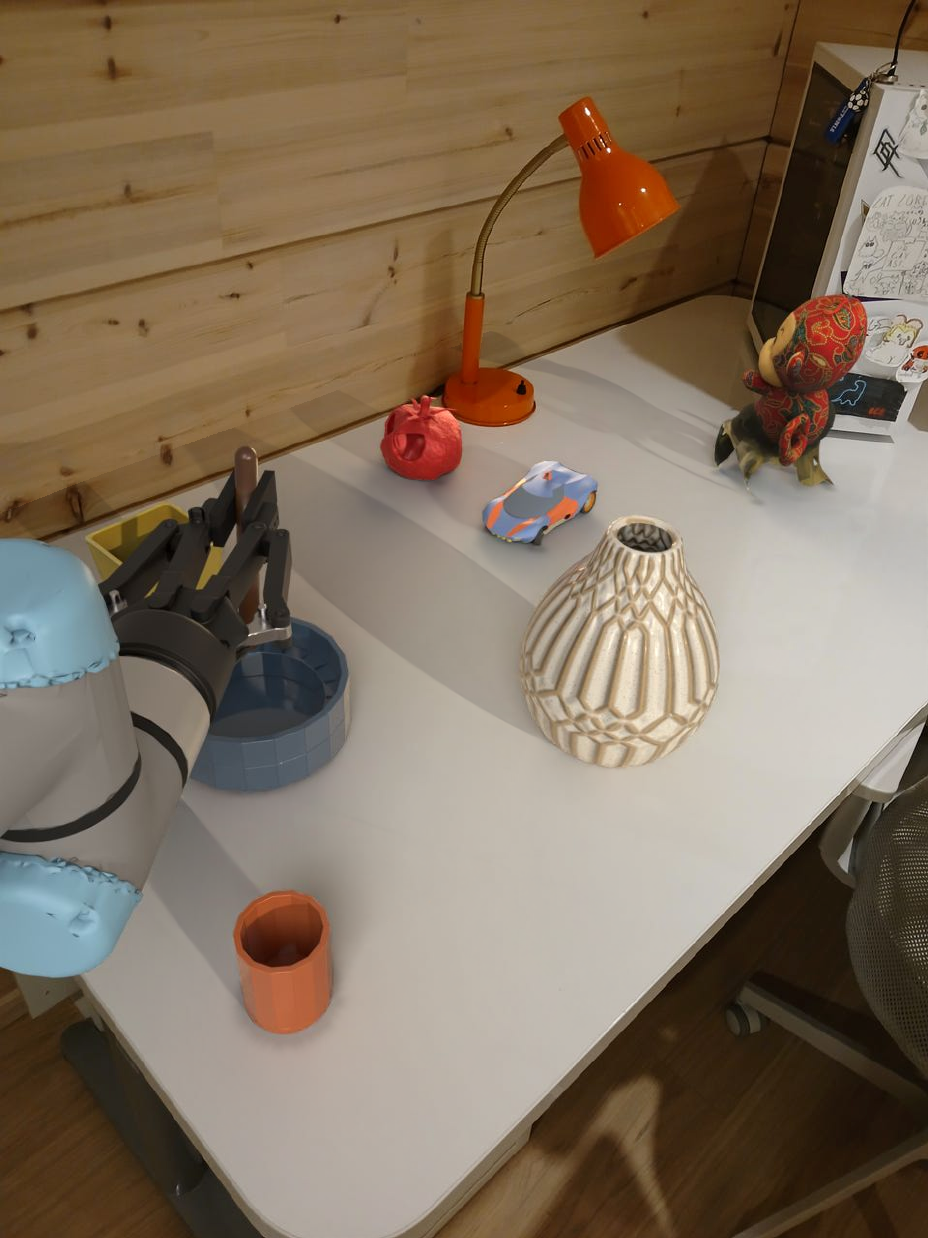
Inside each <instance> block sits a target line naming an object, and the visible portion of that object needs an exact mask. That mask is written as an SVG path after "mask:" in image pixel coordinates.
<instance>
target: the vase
mask: <svg viewBox="0 0 928 1238" xmlns="http://www.w3.org/2000/svg"><path fill="white" fill-rule="evenodd" d="M685 555H686V554H685V545H684V540H683V537H682V535H681V533H680V532H679V530H678V529H677V528H676V527H675V526H673V525H672V524H671V523H669V522H667V521H665V520H664V519H663V520H662V519H661V518H658V517H655V516H649V515H643V514H642V515H641V514H633V515H631V514H630V515H627V516H622V517H619V518H617V519H615V520H614V521H613V522H611V523H610V525H609V526H608V527H607V529H606V531H605V533H603V536H602V537H601V539H600V541H599V542H598V543H597V545H596V547H595V548H594V549H593V550H592V551H591V552H589V553H588V554H586V555H585V556H584V557H582V558H581V559H580V560H578V561H576V562H575V563H574V564H573V565H572V566H571V567H569V568H568V569H567V570H566V571H564V573H562V575H560V576H559V577H558V578H557V579H556V580H555V581H554V582H553V583H552V585H550V586H549V588H548V589H547V590H546V592H545V593H544V595H543V596H542V597H541V599H540V601H539V602H538V604H537V606H536V607H535V609H534V611H533V613H532V615H531V617H530V618H529V620H528V622H527V625H526V628H525V630H524V633H523V636H522V640H521V642H520V643H521V644H520V649H519V660H518V661H519V664H518V665H519V667H518V668H519V681H520V687H521V692H522V695H523V698H524V702H525V705H526V706H527V709H528V710H529V713H530V715H531V717H532V718H533V721H534V722H535V723H536V725H537V727H538V728H539V729H540V730H541V732H542V734H543V735H544V736H545V737H546V738H547V739H548V740H549V741H550V742H551V743H553V744H554V745H555V746H556V747H557V748H558V749H561V751H563V752H565V753H566V754H568V755H570V756H571V757H574V758H575V759H577V760H579V761H581V762H585V763H588V764H591V765H595V766H599V767H604V768H613V769H614V768H616V769H624V768H633V767H640V766H646V765H648V764H652V763H654V762H657V761H659V760H662V759H663V758H665V757H667V756H669V755H670V754H672V753H673V752H675V751H677V750H678V749H679V748H680V747H681V746H682V745H684V744H685V743H686V742H688V740H689V739H690V738H691V737H692V736H693V735H694V734H695V733H696V732H697V731H698V729H699V728H700V727H701V725H702V724H703V722H704V721H705V719H706V717H707V715H708V714H709V711H710V710H711V708H712V706H713V703H714V700H715V697H716V695H717V692H718V688H719V682H720V674H721V655H720V643H719V637H718V632H717V626H716V622H715V620H714V617H713V614H712V612H711V609H710V606H709V605H708V602H707V599H706V598H705V596H704V593H703V592H702V590H701V588H700V586H699V584H698V583H697V581H696V580H695V578H694V577H693V575H692V574H691V573H690V570H689V569H688V566H687V565H688V564H687V561H686V556H685Z"/></svg>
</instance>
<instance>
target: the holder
mask: <svg viewBox="0 0 928 1238" xmlns="http://www.w3.org/2000/svg"><path fill="white" fill-rule="evenodd" d="M232 940H233V945H234V951H235V957H236V964H237V969H238V970H237V971H238V975H239V982H240V988H241V994H242V998H243V1003H244V1007H245V1010H246V1014H247V1015H248V1017H249V1018H250V1019H251V1020H252V1022H253V1023H254V1024H255V1025H257V1026H258V1027H259V1028H261V1029H262V1030H264V1031H267V1032H270V1033H273V1034H279V1035H286V1034H287V1035H288V1034H294V1033H298V1032H301V1031H304V1030H306V1029H308V1028H309V1027H311V1026H312V1025H314V1024H315V1023H316V1022H317V1021H319V1019H321V1018H322V1016H323V1015H324V1014H325V1013H326V1011H327V1009H328V1008H329V1005H330V1003H331V1000H332V995H333V986H334V977H333V975H334V974H333V959H332V941H331V925H330V921H329V918H328V916H327V911H326V909H325V907H323V906H322V905H321V904H320V903H319V902H318V901H317V900H316V899H315V897H313V896H312V895H309V894H306V893H303V892H300V891H297V890H294V889H288V890H287V889H285V890H275V891H274V890H273V891H270V892H268V893H266V894H263V895H262V896H259V897H258V898H256V899H253V900H252V901H251V902H250V903H249V904H248V905H247V906H245V908H244V909H243V910H242V911H241V912H240V913H239V914H238V916H237V919H236V923H235V925H234V929H233V932H232Z"/></svg>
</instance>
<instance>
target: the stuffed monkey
mask: <svg viewBox="0 0 928 1238" xmlns="http://www.w3.org/2000/svg"><path fill="white" fill-rule="evenodd" d="M867 333H868V315H867V310H866V309H865V307H864V305H863V303H862V302H861V300H860V299H859V298H856V297H854V296H852V295H850V294H844V293H838V294H828V295H827V294H826V295H821V296H817V297H814V298H811V299H808V300H807V301H805V302H804V303H802V304H801V305H800V306H798V307H796V308H795V310H793V311H792V312H790V313H789V315H788V316H787V317H786V319H784V321H783V322H782V324H781V325H780V327H779V329H778V330H777V333H776V336H775V337H772V338H770V339H769V338H768V339H767V341H766V342H765V343H764V344H763V346H762V348H761V350H760V353H759V357H758V370H759V371H757V370H754V369H748V370H747V371H745V372H744V373H743V374H742V377H741V381H742V384H743V385H744V387H745V388H746V389H747V390H748V391H751V392H753V393H755V394H757V395H761V397H760V398H759V399H758V400H757V401H756V402H752V403H748V404H746V405H745V406H744V407H743V408H742V409H741V410H740V411H739V413H738V414H737V415H736V416H734V417H732V418H729V419H727V420H725V421H723V422H722V423H721V426H720V428H719V431H718V433H717V436H716V438H715V441H714V443H713V449H712V451H713V453H712V455H713V463H714V466H715V467H716V468H717V469H720V468H721V467H722V466H723V465H724V464H725V463H726V462H727V460H728V459H729V458H730V456H731V455H732V454H733V453H734V452H735V455H736V458H737V462H738V464H739V468H740V472H741V475H742V479H743V482H744V485H745V487H746V489H747V491H748V492H749V493H750V494H751V495H753V496H754V497H755V498H757V497H756V496H755V494H754V493H753V492H752V491H751V490H750V489H749V487H748V485H747V484H748V482H749V480H750V478H751V477H752V476H753V475H754V474H755V472H756V471H757V470H758V469H759V468H760V467H761V466H762V465H763V464H767V463H770V464H772V465H773V466H776V467H791V465H793V467H794V468H795V470H796V473H797V480H798V482H799V483H800V484H801V485H802V486H804V487H813V486H815V485H818V484H820V483H822V482H823V481H825V482H827V483H829V484H830V485H832V486H835V484H834V482H833V481H832V480H831V478H830V477H829V476H828V475H827V473H826V472H825V471H824V469H823V468H822V465H821V462H820V446H821V441H822V440H823V439H825V438H826V437H827V436H828V434H829V432H830V431H831V429H833V427H834V424H835V421H836V414H837V411H836V408H835V405H834V404H833V402H832V401H831V400H829V395H828V389H830V388H831V387H833V386H834V385H835V384H836V383H838V382H839V381H841V380H842V379H843V378H844V377H845V376H846V375H847V374H848V373H849V372H850V371H851V370H852V369H853V367H854V366H855V364H857V362H858V360H859V359H860V357H861V355H862V352H863V350H864V347H865V343H866V341H867V340H866V339H867ZM814 461H815V462H816V464H815V462H814Z"/></svg>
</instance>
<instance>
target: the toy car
mask: <svg viewBox="0 0 928 1238" xmlns="http://www.w3.org/2000/svg"><path fill="white" fill-rule="evenodd" d="M598 484H599V482H598V481H597V480H596V479H595V478H594V477H592V476H591V475H590V474H589V473H582V472H580V471H576V470H574V469H572V468H569V467H567V466H565V465H563V464H562V463H561V462H560V461H557V460H556V461H555V460H554V461H553V460H543V461H541V462H538V463H535V464H533V465H532V466H531V467H530V468H529V470H528V472H527V473H526V474H525V476H524V477H523V478H521V480H520V481H519V482H518V483H516V484H515V485H514V486H513V487H512V488H510V489H508V491H507V492H506V493H504V494H503V495H500V496H499V497H497V498H495V499H492V500H491V501H489V502H488V503H487V504H486V505H485V506H484V508H483V510H482V513H481V515H482V521H483V523H484V524H485V526H486V528H487V529H488V531H489V532H490V533H491V534H492V535H494V536H496V537H497V538H501V539H502V540H506V541H507V542H508V543H523V544H529V543H530V542H532V541H533V546H537V547H538V546H539V547H540V546H541V545H542V539H543V534H544V536H546V535H548V533H550V532H551V531H552V530H553V529H554V528H556V527H557V526H560V525H562V524H563V523H566V522H568V521H570V520H571V519H573V518H574V517H575V516H576V515H578V514H579V513H581V514H582V515H583V514H584V515H587V514H589V513H590V512H591V511H592V509H593V508H594V506H595V503H596V500H597V492H598V486H599V485H598Z"/></svg>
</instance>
